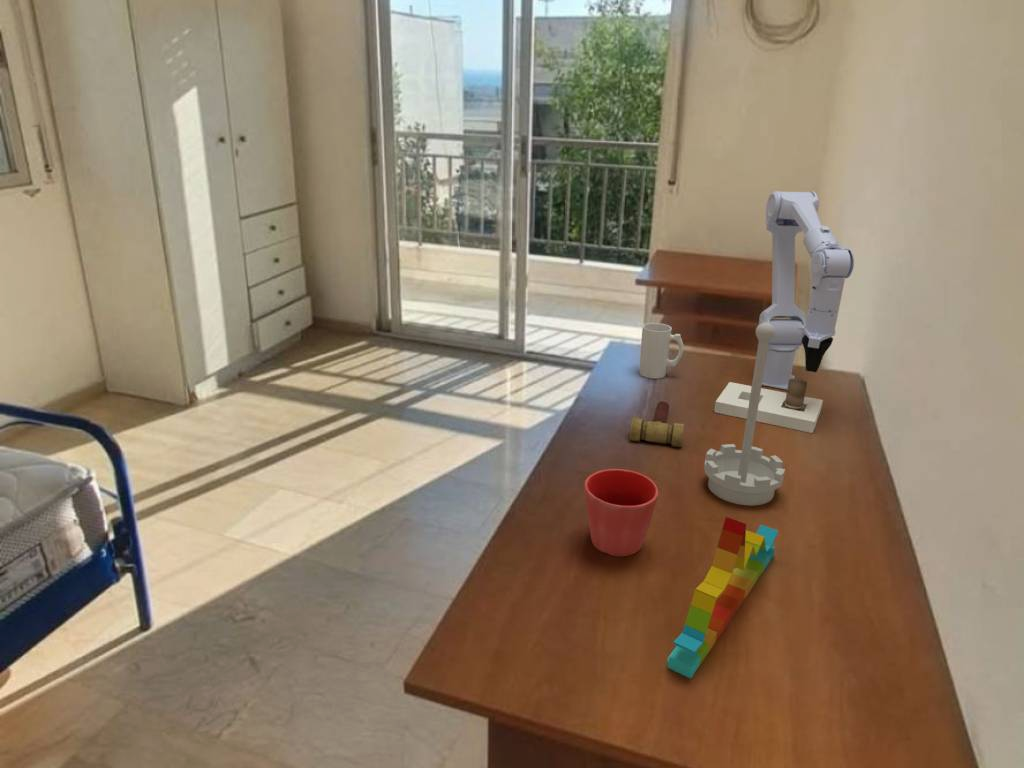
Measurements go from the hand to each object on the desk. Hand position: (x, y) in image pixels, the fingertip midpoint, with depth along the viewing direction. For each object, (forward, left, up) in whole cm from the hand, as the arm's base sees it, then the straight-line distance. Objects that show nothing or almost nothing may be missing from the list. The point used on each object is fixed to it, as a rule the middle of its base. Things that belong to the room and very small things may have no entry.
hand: (811, 370), depth 152 cm
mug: (-5, -34, -10) cm, 36 cm away
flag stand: (+40, -5, -10) cm, 41 cm away
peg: (+3, -2, -10) cm, 11 cm away
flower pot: (+66, -18, -10) cm, 69 cm away
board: (+3, -7, -10) cm, 12 cm away
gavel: (+21, -25, -11) cm, 35 cm away
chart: (+72, 0, -10) cm, 73 cm away
